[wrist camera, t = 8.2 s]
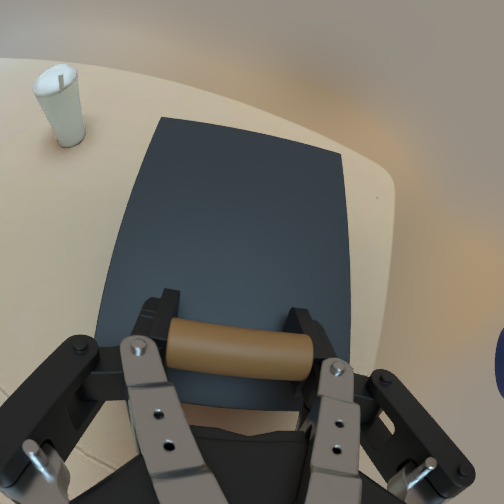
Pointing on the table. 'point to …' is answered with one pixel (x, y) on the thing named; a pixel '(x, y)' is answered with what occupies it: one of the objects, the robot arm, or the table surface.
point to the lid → (233, 260)
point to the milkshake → (61, 103)
